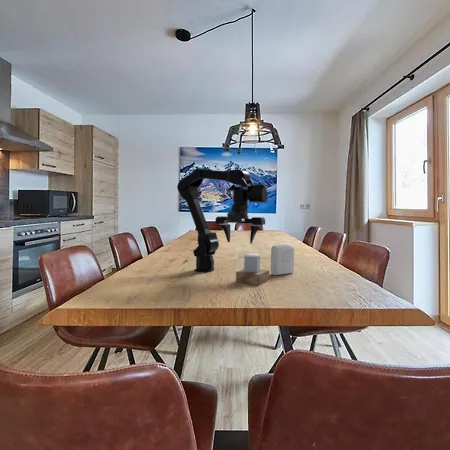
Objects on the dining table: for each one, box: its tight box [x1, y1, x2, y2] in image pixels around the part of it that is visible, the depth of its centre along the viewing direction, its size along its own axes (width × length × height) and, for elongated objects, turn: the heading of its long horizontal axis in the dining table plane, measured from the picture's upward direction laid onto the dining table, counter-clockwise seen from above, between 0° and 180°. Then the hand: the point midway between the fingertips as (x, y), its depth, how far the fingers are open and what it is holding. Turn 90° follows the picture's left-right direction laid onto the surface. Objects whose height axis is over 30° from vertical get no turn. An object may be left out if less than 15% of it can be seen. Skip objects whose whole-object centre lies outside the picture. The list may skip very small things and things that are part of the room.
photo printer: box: [270, 242, 295, 276], centre depth 135 cm, size 10×4×12 cm, turn 123°
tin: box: [243, 252, 261, 273], centre depth 121 cm, size 5×5×6 cm
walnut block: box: [235, 268, 270, 286], centre depth 121 cm, size 9×9×4 cm
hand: (239, 242), depth 132 cm, fingers open, 9 cm apart
